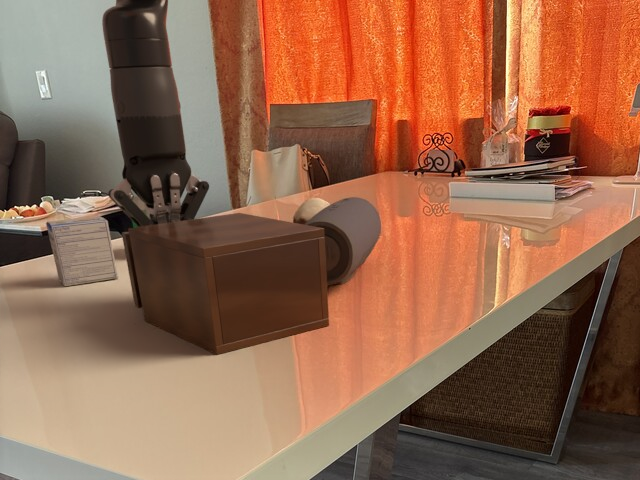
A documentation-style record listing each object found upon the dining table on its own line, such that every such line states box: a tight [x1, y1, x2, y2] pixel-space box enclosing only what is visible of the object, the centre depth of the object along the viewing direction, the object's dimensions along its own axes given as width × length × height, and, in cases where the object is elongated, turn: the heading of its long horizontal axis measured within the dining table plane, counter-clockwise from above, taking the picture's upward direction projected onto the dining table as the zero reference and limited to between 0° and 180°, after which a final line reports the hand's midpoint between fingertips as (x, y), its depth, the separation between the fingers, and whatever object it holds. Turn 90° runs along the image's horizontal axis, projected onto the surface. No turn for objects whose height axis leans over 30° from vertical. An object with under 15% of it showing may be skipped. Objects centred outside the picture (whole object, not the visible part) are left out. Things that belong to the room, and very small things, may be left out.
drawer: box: [121, 231, 142, 309], centre depth 87 cm, size 21×14×9 cm, turn 39°
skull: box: [292, 197, 331, 225], centre depth 127 cm, size 12×10×10 cm
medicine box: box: [45, 215, 119, 287], centre depth 105 cm, size 8×4×9 cm, turn 121°
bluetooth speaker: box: [304, 196, 382, 286], centre depth 102 cm, size 23×9×10 cm, turn 169°
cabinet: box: [127, 212, 330, 355], centre depth 82 cm, size 18×15×11 cm
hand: (171, 262), depth 92 cm, fingers closed
